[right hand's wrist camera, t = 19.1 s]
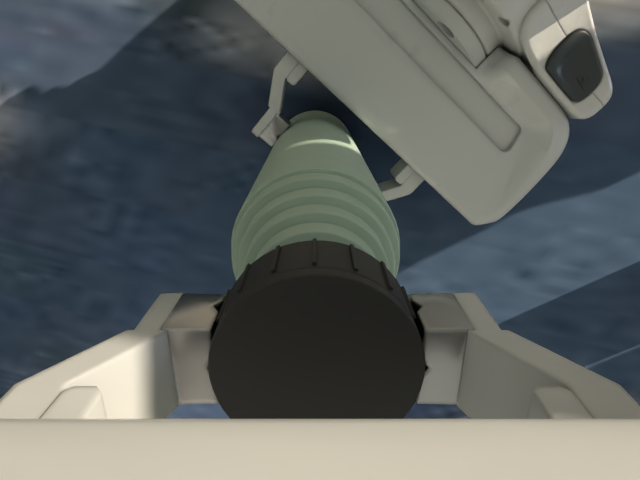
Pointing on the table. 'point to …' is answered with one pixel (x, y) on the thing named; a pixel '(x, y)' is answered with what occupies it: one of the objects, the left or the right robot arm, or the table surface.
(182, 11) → the table surface
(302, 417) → the cap
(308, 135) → the bottle
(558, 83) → the left robot arm
